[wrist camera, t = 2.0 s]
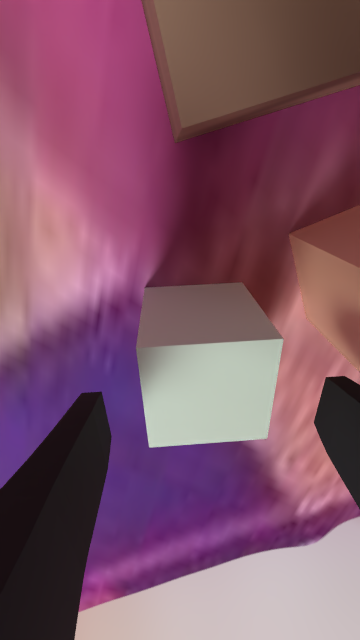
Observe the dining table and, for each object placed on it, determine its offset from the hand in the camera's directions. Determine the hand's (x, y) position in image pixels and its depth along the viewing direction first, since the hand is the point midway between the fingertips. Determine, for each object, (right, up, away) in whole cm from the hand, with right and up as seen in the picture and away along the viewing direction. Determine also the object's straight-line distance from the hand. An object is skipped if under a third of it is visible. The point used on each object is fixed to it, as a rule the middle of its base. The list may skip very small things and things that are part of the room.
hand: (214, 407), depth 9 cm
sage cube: (0, +3, +5) cm, 5 cm away
